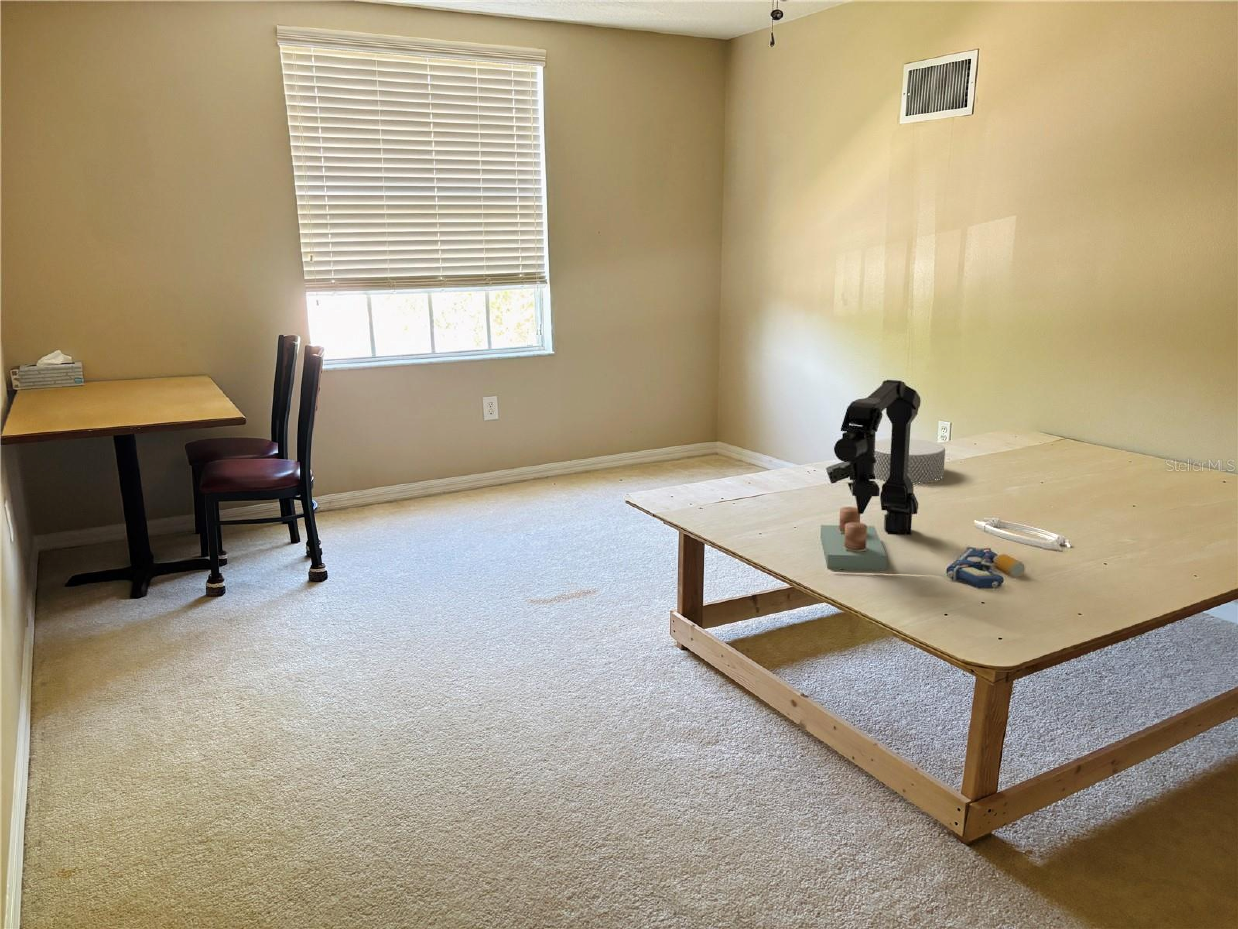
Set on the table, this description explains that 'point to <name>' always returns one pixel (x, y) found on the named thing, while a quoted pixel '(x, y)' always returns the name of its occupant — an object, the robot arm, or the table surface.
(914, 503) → the robot arm
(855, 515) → the seated peg
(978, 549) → the spray gun
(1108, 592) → the table surface
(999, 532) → the door handle
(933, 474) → the knob
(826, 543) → the board
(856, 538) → the peg
